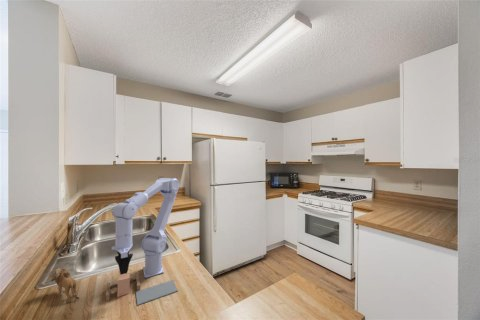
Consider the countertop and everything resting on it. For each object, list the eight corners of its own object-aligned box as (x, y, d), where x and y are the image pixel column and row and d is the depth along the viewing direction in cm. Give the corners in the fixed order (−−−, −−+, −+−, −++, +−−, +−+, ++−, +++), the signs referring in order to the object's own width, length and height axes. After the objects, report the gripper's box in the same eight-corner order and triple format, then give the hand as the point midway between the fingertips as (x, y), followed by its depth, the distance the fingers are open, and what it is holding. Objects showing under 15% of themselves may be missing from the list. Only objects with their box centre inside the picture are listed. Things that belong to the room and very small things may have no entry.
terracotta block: (117, 291, 75) (117, 275, 75) (129, 287, 77) (129, 272, 77) (117, 297, 72) (117, 281, 72) (129, 293, 74) (129, 277, 74)
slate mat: (135, 292, 74) (135, 291, 74) (172, 280, 82) (172, 279, 82) (137, 305, 67) (137, 304, 67) (177, 291, 75) (177, 290, 75)
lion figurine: (46, 295, 73) (47, 271, 73) (63, 286, 78) (64, 264, 78) (70, 305, 67) (71, 279, 68) (87, 295, 72) (87, 271, 73)
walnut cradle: (107, 288, 76) (107, 282, 76) (138, 279, 82) (138, 273, 82) (105, 302, 69) (106, 295, 69) (140, 291, 75) (140, 284, 75)
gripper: (112, 230, 79) (112, 263, 79) (111, 242, 66) (110, 281, 66) (132, 227, 82) (131, 258, 82) (134, 238, 70) (133, 275, 70)
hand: (123, 268), depth 75 cm, fingers open, 7 cm apart
